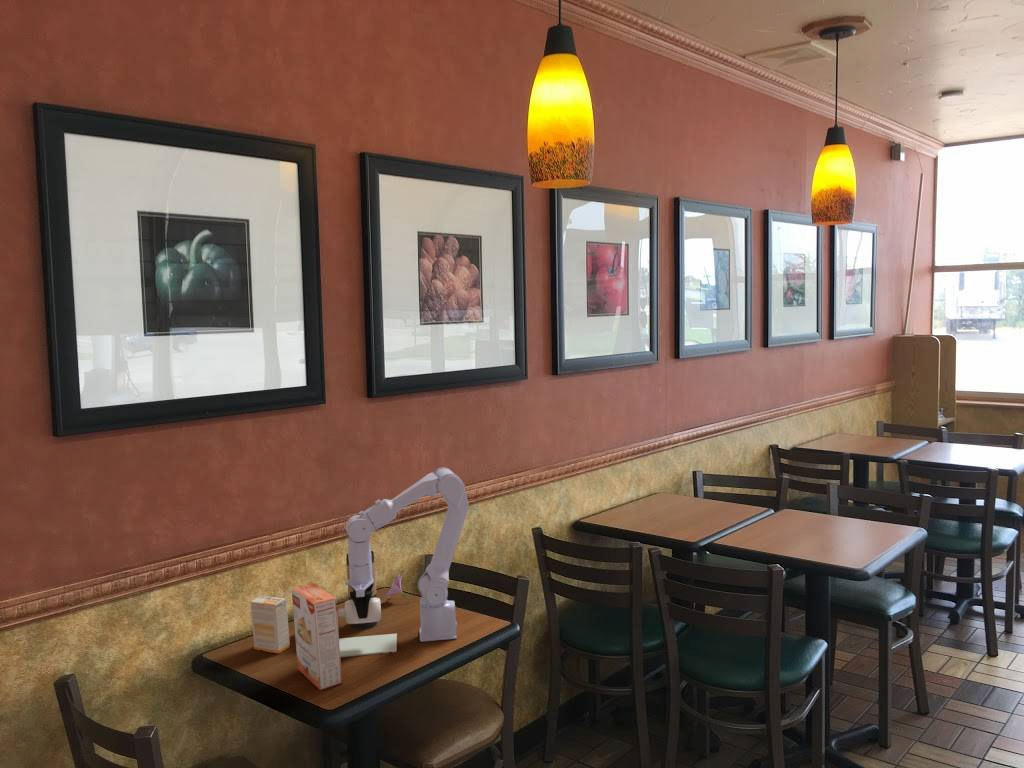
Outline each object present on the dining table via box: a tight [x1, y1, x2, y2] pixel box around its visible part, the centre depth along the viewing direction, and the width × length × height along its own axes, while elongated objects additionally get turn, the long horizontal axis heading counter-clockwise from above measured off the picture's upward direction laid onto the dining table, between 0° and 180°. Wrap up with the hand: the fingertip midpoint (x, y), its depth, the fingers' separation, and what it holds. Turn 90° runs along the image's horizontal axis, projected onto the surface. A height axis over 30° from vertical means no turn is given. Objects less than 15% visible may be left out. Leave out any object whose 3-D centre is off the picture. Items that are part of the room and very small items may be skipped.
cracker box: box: [291, 582, 343, 691], centre depth 195 cm, size 14×6×21 cm, turn 35°
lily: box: [380, 568, 410, 605], centre depth 243 cm, size 12×12×10 cm
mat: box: [339, 632, 398, 658], centre depth 213 cm, size 16×11×1 cm
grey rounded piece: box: [337, 597, 382, 625], centre depth 212 cm, size 11×4×5 cm, turn 97°
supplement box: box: [249, 595, 291, 655], centre depth 213 cm, size 8×5×13 cm, turn 65°
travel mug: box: [345, 550, 378, 630], centre depth 227 cm, size 8×8×20 cm
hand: (363, 614), depth 212 cm, fingers closed on grey rounded piece, 4 cm apart
